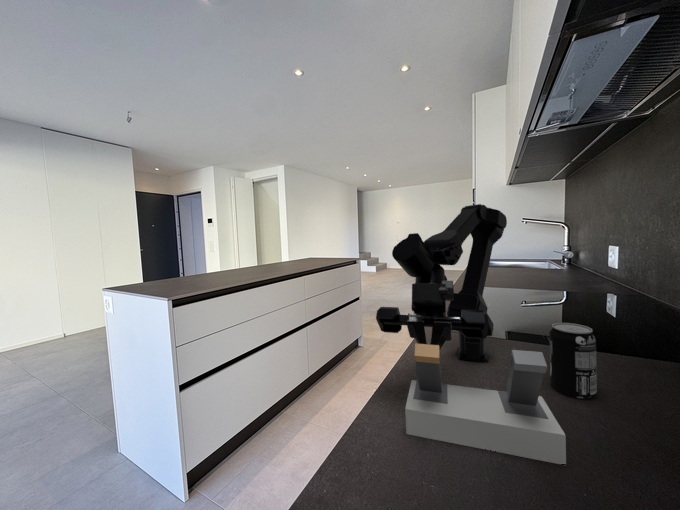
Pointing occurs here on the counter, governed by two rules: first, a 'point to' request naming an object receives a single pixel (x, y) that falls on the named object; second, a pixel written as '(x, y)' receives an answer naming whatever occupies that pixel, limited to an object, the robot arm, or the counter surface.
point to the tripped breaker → (428, 367)
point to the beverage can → (573, 360)
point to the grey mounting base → (485, 422)
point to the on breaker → (525, 377)
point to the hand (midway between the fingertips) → (428, 369)
